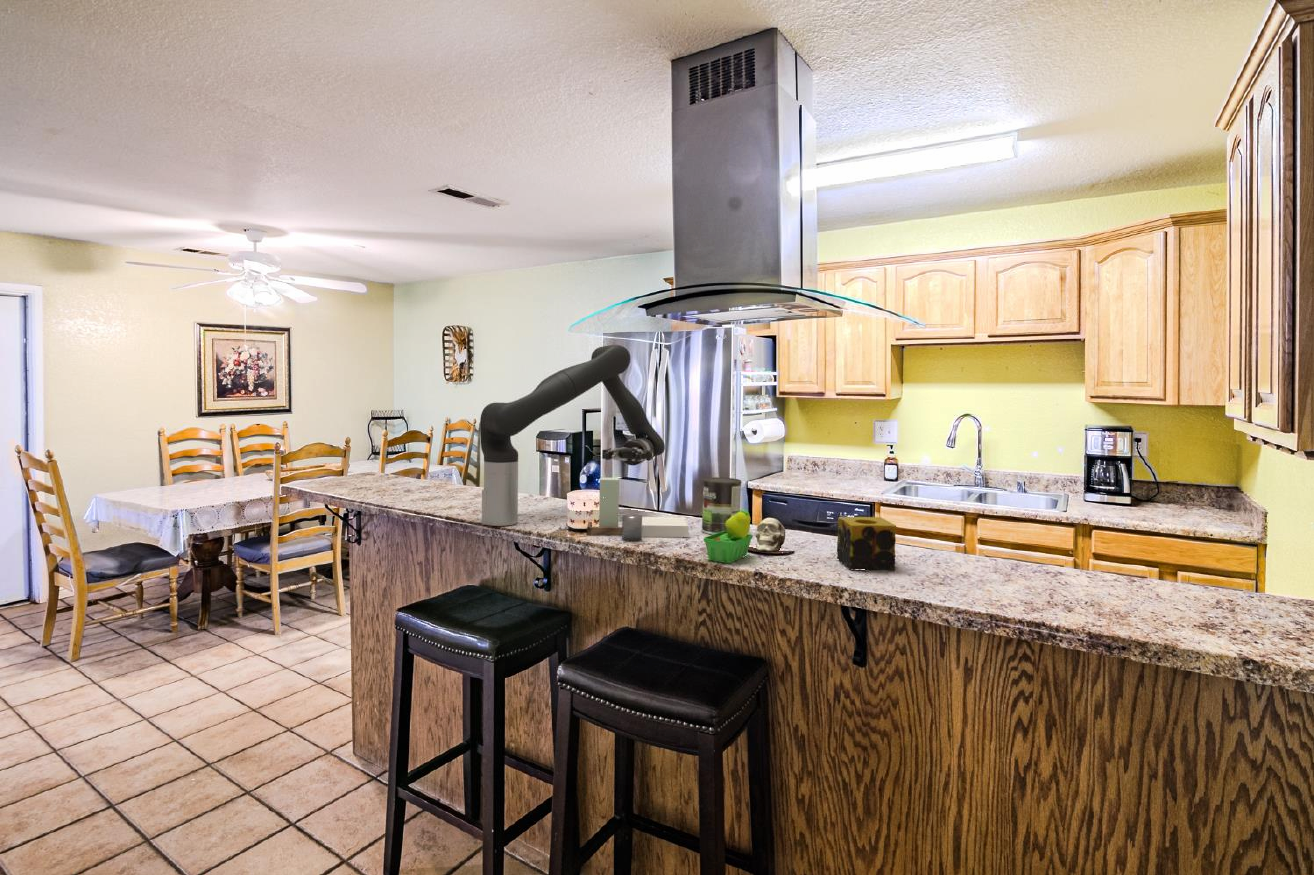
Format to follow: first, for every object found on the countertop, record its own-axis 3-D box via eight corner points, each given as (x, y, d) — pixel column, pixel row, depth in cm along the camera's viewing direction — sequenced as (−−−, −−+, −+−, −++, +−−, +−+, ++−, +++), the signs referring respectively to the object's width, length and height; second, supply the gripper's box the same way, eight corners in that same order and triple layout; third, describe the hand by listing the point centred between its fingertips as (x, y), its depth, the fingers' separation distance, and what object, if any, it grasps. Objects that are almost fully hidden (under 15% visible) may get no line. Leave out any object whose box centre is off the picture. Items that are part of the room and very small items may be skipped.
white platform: (637, 536, 176) (637, 525, 175) (636, 527, 188) (637, 516, 187) (688, 537, 176) (688, 525, 176) (684, 528, 188) (684, 517, 188)
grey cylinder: (621, 541, 170) (622, 517, 170) (621, 537, 175) (622, 514, 175) (642, 541, 170) (642, 517, 170) (641, 537, 175) (641, 514, 175)
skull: (789, 554, 155) (761, 518, 158) (756, 579, 160) (729, 544, 162) (805, 543, 166) (778, 509, 168) (774, 567, 170) (748, 533, 173)
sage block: (599, 533, 180) (599, 479, 179) (599, 529, 185) (600, 477, 184) (618, 533, 180) (619, 480, 179) (618, 529, 185) (619, 477, 184)
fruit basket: (723, 551, 162) (724, 503, 161) (758, 556, 157) (760, 507, 157) (701, 560, 152) (702, 510, 151) (738, 566, 148) (739, 514, 147)
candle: (879, 560, 156) (881, 516, 156) (896, 571, 146) (898, 525, 146) (835, 559, 156) (837, 516, 155) (849, 571, 146) (851, 524, 145)
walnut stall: (586, 535, 177) (586, 527, 176) (588, 527, 187) (589, 519, 187) (629, 535, 177) (629, 527, 177) (629, 527, 188) (629, 520, 187)
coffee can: (713, 536, 178) (715, 482, 177) (694, 529, 187) (696, 478, 186) (747, 534, 182) (749, 481, 181) (727, 527, 192) (728, 476, 191)
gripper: (613, 438, 209) (597, 442, 193) (659, 440, 206) (646, 444, 190) (613, 463, 210) (597, 469, 194) (658, 464, 207) (646, 471, 191)
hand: (621, 456), depth 192 cm, fingers open, 8 cm apart
